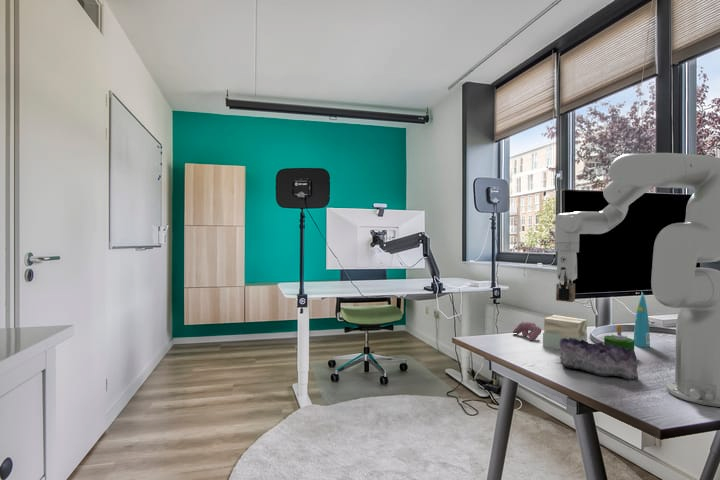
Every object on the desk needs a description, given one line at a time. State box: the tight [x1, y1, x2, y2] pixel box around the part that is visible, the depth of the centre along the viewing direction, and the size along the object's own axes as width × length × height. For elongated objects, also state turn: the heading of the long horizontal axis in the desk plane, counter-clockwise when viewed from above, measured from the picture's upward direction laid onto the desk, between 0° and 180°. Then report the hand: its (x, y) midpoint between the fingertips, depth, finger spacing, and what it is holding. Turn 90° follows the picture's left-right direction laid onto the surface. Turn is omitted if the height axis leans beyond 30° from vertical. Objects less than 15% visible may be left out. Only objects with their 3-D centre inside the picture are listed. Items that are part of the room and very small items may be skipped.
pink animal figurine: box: [512, 321, 542, 341], centre depth 149 cm, size 10×5×7 cm, turn 22°
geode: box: [559, 338, 639, 381], centre depth 113 cm, size 20×12×10 cm, turn 52°
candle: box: [603, 324, 635, 351], centre depth 128 cm, size 8×8×10 cm
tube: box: [633, 291, 651, 348], centre depth 139 cm, size 7×5×19 cm, turn 150°
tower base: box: [542, 331, 588, 350], centre depth 138 cm, size 10×12×5 cm
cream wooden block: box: [543, 314, 588, 338], centre depth 138 cm, size 9×11×5 cm
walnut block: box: [555, 281, 576, 303], centre depth 138 cm, size 5×5×6 cm
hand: (565, 298), depth 138 cm, fingers closed on walnut block, 5 cm apart
